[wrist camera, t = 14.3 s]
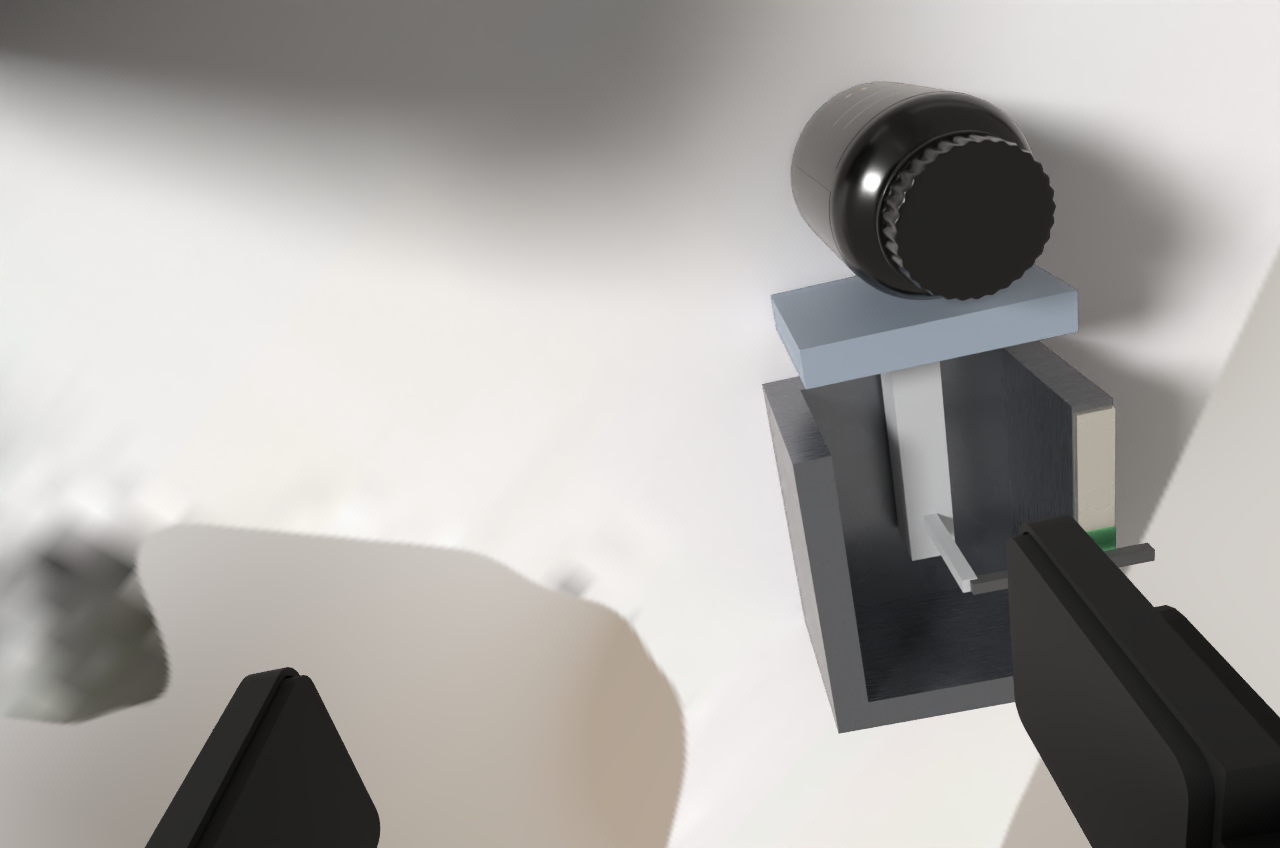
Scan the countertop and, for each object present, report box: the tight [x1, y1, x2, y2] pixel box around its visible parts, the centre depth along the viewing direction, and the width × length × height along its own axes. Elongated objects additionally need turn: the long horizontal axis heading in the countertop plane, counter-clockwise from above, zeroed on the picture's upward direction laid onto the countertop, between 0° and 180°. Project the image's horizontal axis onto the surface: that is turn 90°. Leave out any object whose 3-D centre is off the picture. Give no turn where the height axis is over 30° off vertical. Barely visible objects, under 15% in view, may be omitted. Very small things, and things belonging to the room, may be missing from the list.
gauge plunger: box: [771, 264, 1155, 595], centre depth 36 cm, size 13×12×9 cm
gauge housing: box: [762, 340, 1116, 733], centre depth 39 cm, size 14×12×8 cm
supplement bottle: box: [791, 82, 1056, 301], centre depth 31 cm, size 7×7×12 cm
